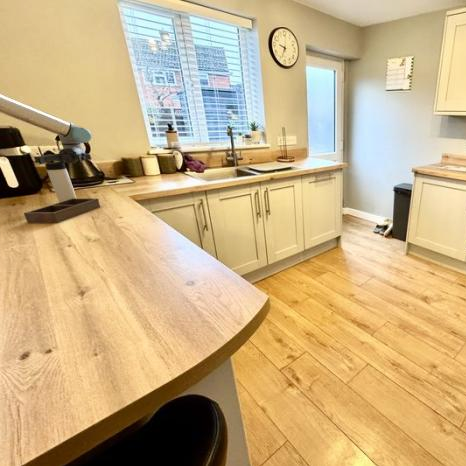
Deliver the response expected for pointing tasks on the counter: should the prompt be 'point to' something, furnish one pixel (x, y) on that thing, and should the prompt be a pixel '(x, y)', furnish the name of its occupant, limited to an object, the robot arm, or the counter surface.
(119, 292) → the counter surface
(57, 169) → the travel mug
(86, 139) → the robot arm
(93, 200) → the tray
